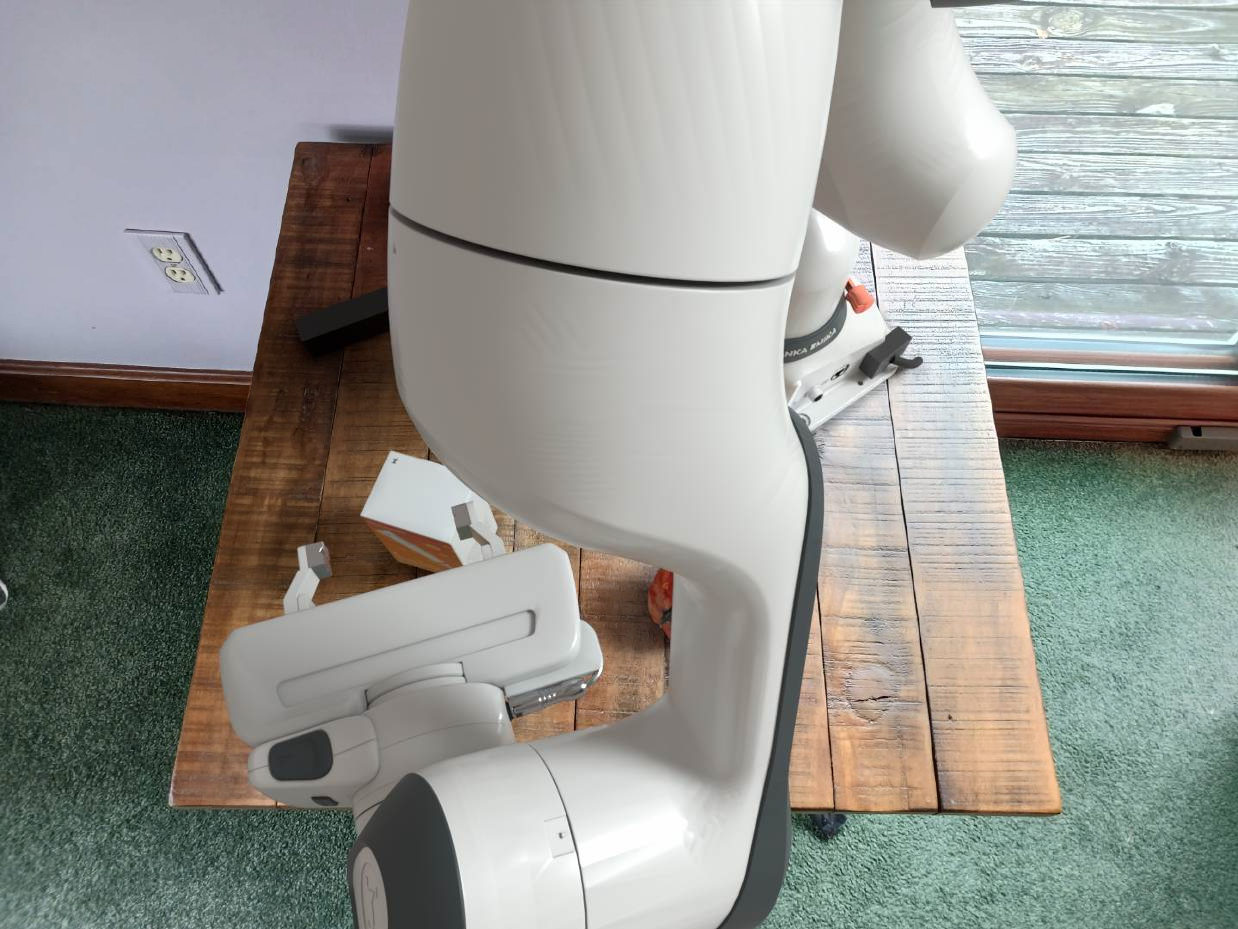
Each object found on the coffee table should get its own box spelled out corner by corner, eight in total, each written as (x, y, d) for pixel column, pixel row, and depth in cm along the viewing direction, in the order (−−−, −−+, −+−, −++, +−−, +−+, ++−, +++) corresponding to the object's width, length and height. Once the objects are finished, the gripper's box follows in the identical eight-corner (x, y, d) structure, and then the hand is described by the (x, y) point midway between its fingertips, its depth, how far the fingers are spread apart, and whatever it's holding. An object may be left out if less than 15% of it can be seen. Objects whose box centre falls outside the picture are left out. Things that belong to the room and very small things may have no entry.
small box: (396, 563, 77) (356, 515, 65) (423, 503, 79) (389, 447, 67) (476, 588, 76) (450, 544, 64) (500, 527, 78) (479, 474, 66)
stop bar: (411, 299, 89) (403, 279, 86) (420, 319, 88) (413, 300, 85) (305, 337, 87) (293, 319, 84) (313, 359, 86) (301, 341, 82)
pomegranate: (676, 566, 79) (608, 595, 72) (725, 530, 74) (659, 558, 67) (715, 633, 77) (651, 670, 70) (768, 600, 73) (705, 637, 65)
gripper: (614, 670, 43) (546, 459, 50) (214, 794, 39) (201, 548, 46) (613, 702, 48) (552, 508, 55) (261, 814, 45) (243, 591, 52)
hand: (389, 527), depth 51 cm, fingers open, 8 cm apart
